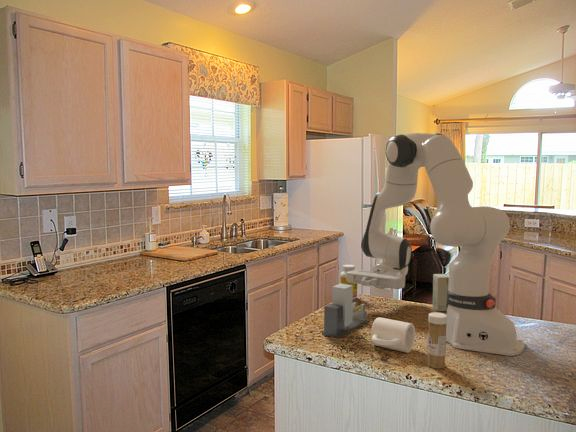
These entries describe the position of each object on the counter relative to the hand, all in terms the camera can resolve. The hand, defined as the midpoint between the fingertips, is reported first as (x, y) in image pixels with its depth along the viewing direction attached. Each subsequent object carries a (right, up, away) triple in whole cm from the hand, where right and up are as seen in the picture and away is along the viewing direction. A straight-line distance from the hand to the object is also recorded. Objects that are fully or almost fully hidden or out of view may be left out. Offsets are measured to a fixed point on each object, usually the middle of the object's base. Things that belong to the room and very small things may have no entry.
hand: (364, 283), depth 161 cm
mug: (+3, -15, -28) cm, 32 cm away
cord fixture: (-8, -13, -9) cm, 17 cm away
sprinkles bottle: (+12, -16, -38) cm, 43 cm away
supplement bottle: (-2, -10, +26) cm, 28 cm away
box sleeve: (-9, -11, -11) cm, 18 cm away
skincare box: (+29, -11, +11) cm, 33 cm away
